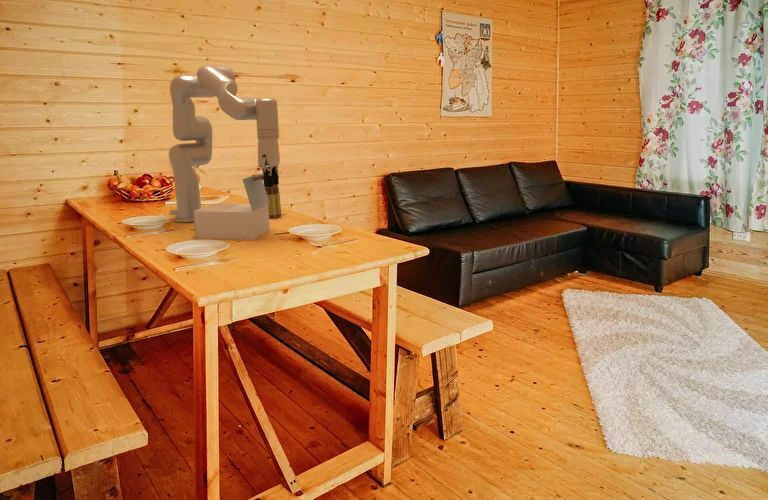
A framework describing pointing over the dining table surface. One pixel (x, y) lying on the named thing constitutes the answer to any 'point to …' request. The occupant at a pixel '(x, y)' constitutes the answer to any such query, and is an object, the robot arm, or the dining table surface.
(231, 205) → the carton
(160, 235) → the dining table surface
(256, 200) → the flap
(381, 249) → the dining table surface
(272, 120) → the robot arm
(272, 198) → the sauce bottle
